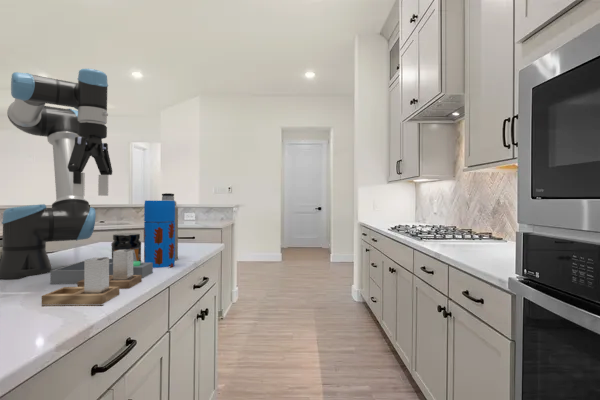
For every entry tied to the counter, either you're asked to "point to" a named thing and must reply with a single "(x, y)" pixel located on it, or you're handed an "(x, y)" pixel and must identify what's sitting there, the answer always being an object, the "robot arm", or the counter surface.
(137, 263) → the button
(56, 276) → the tote
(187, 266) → the counter surface
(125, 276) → the block
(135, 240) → the supplement container
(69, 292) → the pallets
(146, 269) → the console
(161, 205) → the thermos
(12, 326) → the counter surface
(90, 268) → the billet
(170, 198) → the thermos bottle
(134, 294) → the counter surface
